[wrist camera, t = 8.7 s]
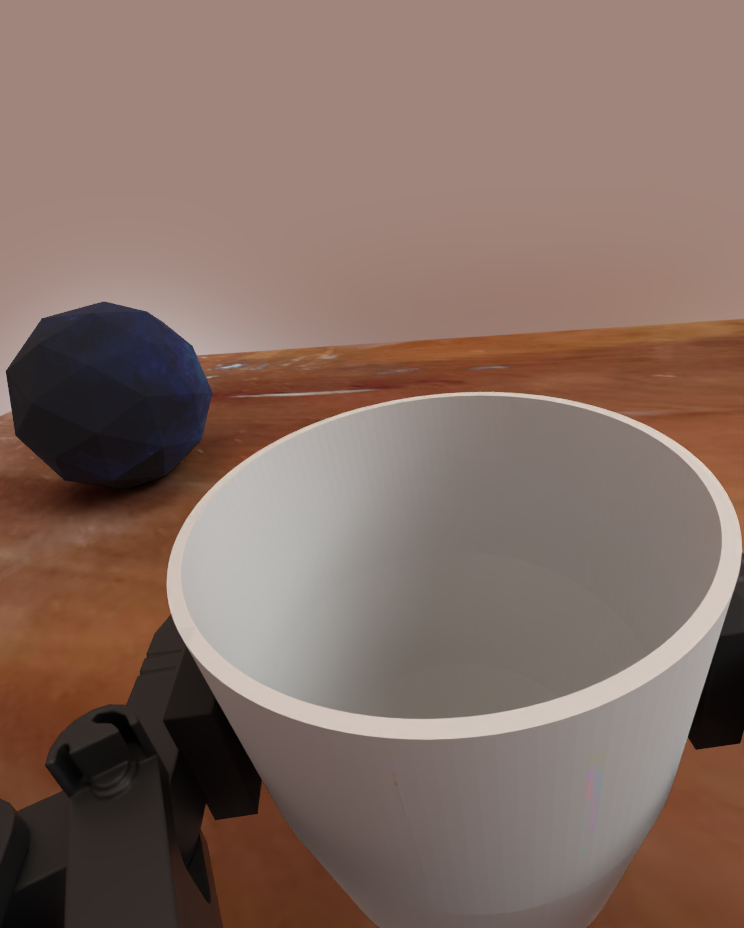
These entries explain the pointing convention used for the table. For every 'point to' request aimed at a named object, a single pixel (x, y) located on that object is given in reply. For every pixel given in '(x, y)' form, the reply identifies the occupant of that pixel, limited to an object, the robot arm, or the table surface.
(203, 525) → the cup
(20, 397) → the decorative orb
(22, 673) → the table surface
